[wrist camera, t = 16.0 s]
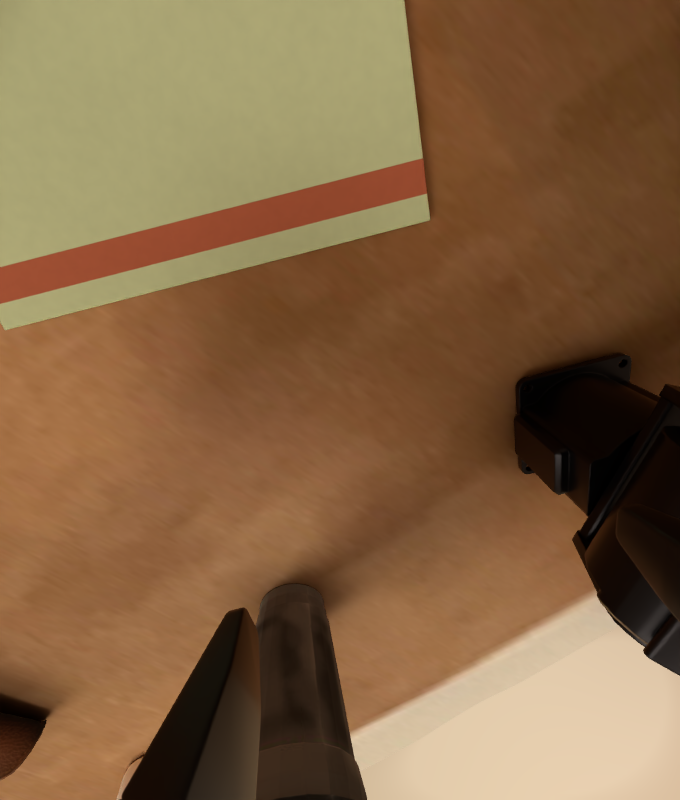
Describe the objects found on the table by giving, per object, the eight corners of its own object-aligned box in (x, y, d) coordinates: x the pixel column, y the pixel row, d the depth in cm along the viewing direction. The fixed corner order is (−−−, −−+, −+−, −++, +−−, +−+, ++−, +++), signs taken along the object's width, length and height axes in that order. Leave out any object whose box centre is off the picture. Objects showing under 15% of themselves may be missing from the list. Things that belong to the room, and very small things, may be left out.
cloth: (356, -374, 11) (358, -390, 11) (428, 220, 18) (430, 220, 18) (-321, -206, 11) (-338, -217, 11) (9, 328, 18) (4, 330, 18)
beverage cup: (218, 595, 26) (65, 1402, 8) (315, 553, 26) (373, 1321, 8) (271, 653, 30) (243, 1333, 11) (359, 616, 29) (474, 1271, 11)
